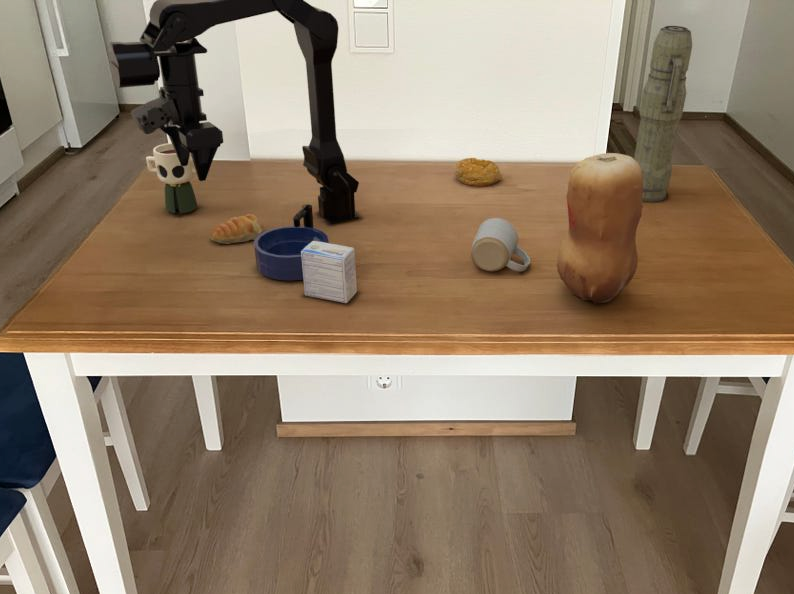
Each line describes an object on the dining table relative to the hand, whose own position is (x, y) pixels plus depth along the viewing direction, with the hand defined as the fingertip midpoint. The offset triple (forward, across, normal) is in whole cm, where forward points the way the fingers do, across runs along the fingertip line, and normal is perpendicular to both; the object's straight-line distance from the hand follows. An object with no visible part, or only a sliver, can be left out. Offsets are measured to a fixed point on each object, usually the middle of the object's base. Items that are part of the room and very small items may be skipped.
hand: (193, 173), depth 138 cm
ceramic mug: (+14, +35, +44) cm, 58 cm away
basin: (+14, +16, +11) cm, 24 cm away
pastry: (+14, -1, +8) cm, 16 cm away
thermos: (+12, +25, +93) cm, 97 cm away
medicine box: (+15, +28, +12) cm, 34 cm away
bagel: (+13, -2, +66) cm, 67 cm away
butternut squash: (+14, +53, +49) cm, 74 cm away
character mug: (+14, -20, +3) cm, 24 cm away
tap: (+14, +11, +16) cm, 24 cm away
